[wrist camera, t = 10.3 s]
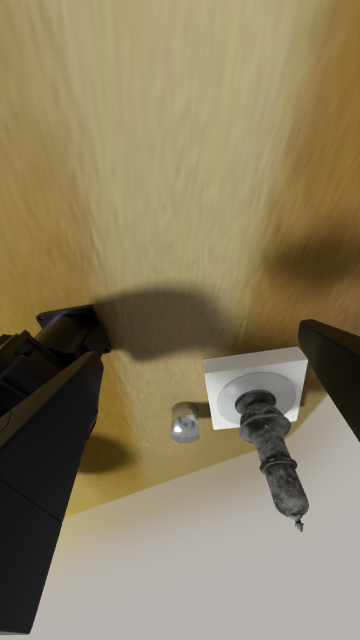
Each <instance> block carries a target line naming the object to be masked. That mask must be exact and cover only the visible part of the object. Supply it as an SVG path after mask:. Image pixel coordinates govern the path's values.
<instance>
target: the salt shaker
mask: <svg viewBox="0 0 360 640" xmlns="http://www.w3.org/2000/svg"><path fill="white" fill-rule="evenodd" d="M275 404H276V397H275V396H274V394H273V393H271V392H269V391H266V390H259V389H258V390H251V391H248V392H246V393H244V394H242V395H241V396H239V397H238V398H237V400H236V402H235V409H236V411H237V412H238V413H239V414H242V415H241V418H240V428H239V435H240V436H241V438H242V439H243V440H245V441H247V442H249V443H254V445H255V446H256V448H257V451H258V455H259V458H260V461H261V466H260V471H261V472H262V473H263V474H265V475H266V478H267V481H268V485H269V488H270V491H271V494H272V497H273V500H274V504H275V506H276V508H277V510H278V511H279V512H280V513H281V514H283V515H285V516H287V517H290V518H291V519H294V520H295V522H296V523H295V526H297V528H298V529H299V530H300V531H301V532H302V529H303V525H304V524H303V523H301V521H300V519H301V518H302V516H303V515H304V514H306V512H307V511H308V508H309V504H308V499H307V497H306V494H305V492H304V490H303V488H302V485H301V483H300V480H299V478H298V476H297V473H296V471H295V469H296V467H297V463H296V461H295V460H293V459H291V457H290V454H289V452H288V450H287V447H286V445H285V441H284V436H285V435H287V434H288V432H289V431H290V428H291V423H290V421H289V420H288V418H286V417H285V416H284V415H283V414H282V413H281V412H280V411H279V410H278V409H277V408H276V407H274V406H275Z"/></svg>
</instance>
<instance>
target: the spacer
mask: <svg viewBox="0 0 360 640" xmlns="http://www.w3.org/2000/svg"><path fill="white" fill-rule="evenodd" d="M199 436H200V432H199V421H198V409H197V407H196V405H194V404H193V403H190V402H180V403H177V404H176V405H174V406H173V408H172V426H171V437H172V439H173V440H175V441H176V442H179V443H191V442H194V441H196V440H197V439H198V438H199Z"/></svg>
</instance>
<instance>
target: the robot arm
mask: <svg viewBox="0 0 360 640" xmlns="http://www.w3.org/2000/svg"><path fill="white" fill-rule="evenodd" d="M87 309H89V310H90V311H88V310H87ZM41 317H42V318H43V319H42V318H41ZM36 319H37V321H38V323H39V324H40V326H41V327H42V330H41V331H40V332H39V333H38V334H37V335H36V336H35V337H34V338H33V337H32V336H31V335H30V333H29V332H28V331H26V330H24V331H23V332H21V333H20V334H19V335H18V334H15V335H13V336H12V335H6V334H3V335H2V336H0V635H27V634H30V631H31V629H32V626H33V623H34V619H35V616H36V613H37V609H38V606H39V602H40V599H41V595H42V592H43V589H44V585H45V582H46V578H47V575H48V571H49V568H50V564H51V561H52V557H53V554H54V551H55V547H56V544H57V541H58V537H59V533H60V530H61V526H62V522H63V519H64V516H65V512H66V509H67V506H68V502H69V499H70V495H71V492H72V488H73V485H74V481H75V478H76V474H77V471H78V468H79V464H80V461H81V457H82V454H83V450H84V447H85V443H86V441H87V440H88V439H89V437H90V434H91V432H92V430H93V428H94V426H95V424H96V420H97V415H98V400H99V393H100V387H101V381H102V376H103V370H104V366H103V363H102V361H101V359H100V358H101V356H102V354H106V353H110V351H111V349H112V348H111V346H110V343H109V338H108V336H107V334H106V332H105V330H104V327H103V325H102V323H101V322H100V321H99V319H98V317H97V315H96V312H95V310H94V308H93V307H92V306H90V305H87V306H81V307H75V308H69V309H63V310H58V311H52V312H46V313H40V314H38V315H37V316H36ZM298 341H299V343H300V345H301V347H302V349H303V351H304V353H305V355H306V357H307V359H308V361H309V363H310V365H311V367H312V369H313V371H314V373H315V374H316V376H317V378H318V379H319V381H320V382H321V384H322V385H323V387H324V388H325V390H326V391H327V393H328V394H329V396H330V397H331V399H332V401H333V402H334V404H335V405H336V407H337V408H338V410H339V411H340V413H341V414H342V416H343V417H344V419H345V420H346V422H347V423H348V425H349V426H350V428H351V430H352V431H353V433H354V434H355V436H356V437H357V439H358V440H359V442H360V337H359V336H357V335H354V334H351V333H349V332H346V331H343V330H340V329H338V328H335V327H332V326H329V325H327V324H324V323H321V322H318V321H316V320H313V319H308V320H302V321H301V322H300V324H299V331H298ZM106 348H107V349H108V350H107V349H106Z"/></svg>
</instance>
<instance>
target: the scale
mask: <svg viewBox="0 0 360 640" xmlns="http://www.w3.org/2000/svg"><path fill="white" fill-rule="evenodd" d="M202 361H203V368H204V375H205V381H206V387H207V393H208V399H209V405H210V411H211V417H212V422H213V428H214V430H217V429H226V428H235V427H240V418H241V415H242V414H239V413H238V412H237V411H236V409H235V402H236V400H237V398H238V397H239V396H241V395H242V394H244V393H246V392H248V391H251V390H258V389H259V390H266V391H269V392H271V393H273V394H274V396H275V397H276V404H275V406H274V407H276V408H277V409H278V410H279V411H280V412H281V413H282V414H283V415H284V416H285V417H286V418H288V420H289V421H297V416H298V410H299V405H300V400H301V395H302V389H303V384H304V379H305V374H306V368H307V363H308V359H307V357H306V356H305V355H304V354H303V352H302V351H301V350H300V348H299V347H298V346H297V347H290V348H283V349H275V350H268V351H261V352H254V353H247V354H239V355H232V356H225V357H218V358H211V359H204V360H202Z"/></svg>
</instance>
